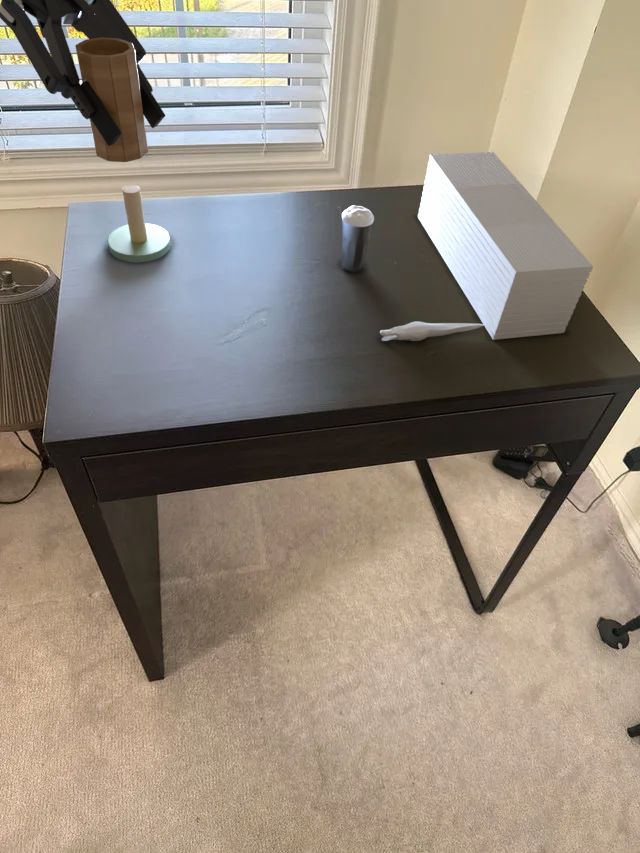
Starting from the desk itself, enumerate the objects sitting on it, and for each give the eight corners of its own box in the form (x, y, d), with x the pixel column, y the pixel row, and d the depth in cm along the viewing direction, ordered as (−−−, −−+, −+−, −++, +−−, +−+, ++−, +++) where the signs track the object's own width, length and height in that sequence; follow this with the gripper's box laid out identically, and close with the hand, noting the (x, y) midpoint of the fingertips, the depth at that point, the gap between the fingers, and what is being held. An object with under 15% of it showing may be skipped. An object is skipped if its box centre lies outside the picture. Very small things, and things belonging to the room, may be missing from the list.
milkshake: (328, 260, 97) (333, 198, 90) (361, 256, 98) (369, 194, 91) (337, 277, 94) (343, 214, 87) (371, 272, 95) (380, 210, 88)
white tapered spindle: (381, 347, 84) (383, 336, 83) (375, 334, 86) (377, 323, 84) (486, 336, 87) (490, 325, 86) (479, 324, 89) (482, 313, 87)
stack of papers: (417, 217, 107) (430, 153, 99) (476, 214, 109) (493, 151, 101) (492, 340, 86) (516, 272, 79) (563, 333, 89) (593, 266, 81)
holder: (113, 266, 92) (101, 208, 86) (105, 233, 98) (94, 177, 91) (175, 258, 95) (169, 201, 88) (165, 226, 100) (158, 171, 94)
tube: (98, 164, 79) (78, 58, 71) (93, 141, 84) (73, 38, 75) (151, 160, 81) (137, 56, 72) (143, 137, 85) (129, 36, 76)
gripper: (-60, -75, 64) (84, 140, 70) (94, -95, 75) (206, 92, 81) (-71, -23, 70) (63, 171, 76) (73, -49, 81) (180, 122, 87)
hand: (137, 130), depth 78 cm, fingers closed on tube, 6 cm apart
